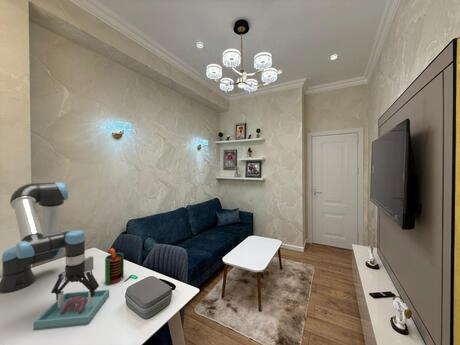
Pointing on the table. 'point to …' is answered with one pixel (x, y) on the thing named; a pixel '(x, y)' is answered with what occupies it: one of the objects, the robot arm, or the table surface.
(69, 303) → the video game controller
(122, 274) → the motor
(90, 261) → the cassette player
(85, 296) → the tray
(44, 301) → the table surface
